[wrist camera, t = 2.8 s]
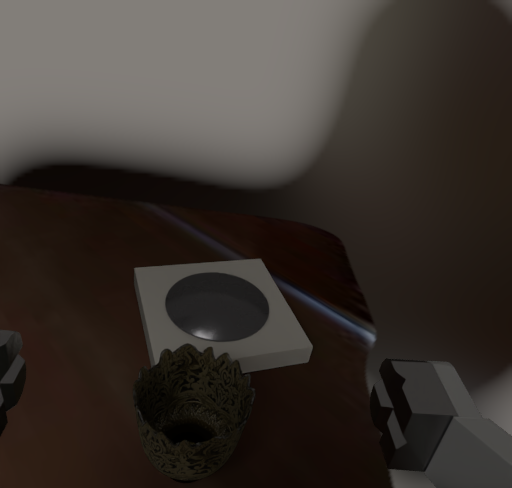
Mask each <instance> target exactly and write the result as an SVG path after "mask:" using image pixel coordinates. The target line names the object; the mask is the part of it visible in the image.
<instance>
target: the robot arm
mask: <svg viewBox="0 0 512 488" xmlns="http://www.w3.org/2000/svg"><path fill="white" fill-rule="evenodd" d="M22 346H23V345H22V340H21V335H20V333H18V332H16V331H6V330H0V436H1V434H2V432H3V430H4V429H5V427H6V425H7V423H8V421H7V416H6V412H7V411H8V410H9V409H11V408H12V407H14V406H15V405H17V403H18V401H19V399H20V397H21V394H22V392H23V388H24V384H25V380H26V365H25V360H24V359H23V358H22V357H20V356H19V355H18V353H19V351H20V349H21V347H22ZM379 372H380V374H381V377H382V379H381V380H379V381H378V382H376V383H375V384H374V386H373V389H372V392H371V397H370V410H371V417H372V420H373V423H374V426H375V427H376V428H377V429H378V430H380V431H381V432H382V433H383V434H382V437H381V439H380V442H379V443H380V446H381V449H382V452H383V455H384V459H385V462H386V465H387V468H388V469H397V470H409V471H423V472H425V473H424V474H425V475H426V476H427V477H428V478H429V480H430V481H431V482H432V483H433V484H434V485H435V486H436V488H512V436H511V435H510V434H508V433H507V432H506V431H504V430H503V429H502V428H500V427H499V426H498V425H496V424H495V423H494V422H493V421H491V420H490V419H483V418H482V416H481V414H480V412H479V411H478V409H477V407H476V405H475V404H474V402H473V400H472V398H471V397H470V395H469V393H468V392H467V390H466V388H465V386H464V384H463V383H462V381H461V379H460V377H459V376H458V374H457V372H456V370H455V369H454V367H453V365H451V364H450V363H449V362H439V361H418V360H403V359H402V360H401V359H387V358H386V359H385V360H384V361H383V362H382V364H381V367H380V370H379Z"/></svg>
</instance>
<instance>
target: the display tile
mask: <svg viewBox="0 0 512 488" xmlns="http://www.w3.org/2000/svg"><path fill="white" fill-rule="evenodd" d="M134 286H135V290H136V295H137V300H138V305H139V310H140V314H141V319H142V324H143V329H144V334H145V338H146V343H147V348H148V353H149V358H150V362H151V366H152V365H156V364H158V362H159V360H160V359H159V358H160V353H161V352H162V351H163V350H164V349H170V350H171V351H172V352H173V351H175V350H176V349H177V348H179V347H180V346H182V345H184V344H186V343H189V344H191V345H193V346H195V347H196V348H197V350H198V351H200V352H203V351H204V350H205V349H206V348H207V347H213V351H214V356H215V359H217V357H218V356H220V355H221V354H223V353H228V354H229V356H230V358H231V359H232V362H234V361H235V360H238V361H239V363H240V367H241V370H242V373H247V372H253V371H259V370H265V369H271V368H277V367H283V366H288V365H294V364H300V363H306V362H308V361H309V358H310V355H311V351H312V348H313V346H312V344H311V343H310V341H309V339H308V337H307V336H306V334H305V332H304V331H303V329H302V327H301V326H300V324H299V322H298V321H297V319H296V317H295V316H294V314H293V312H292V311H291V309H290V307H289V306H288V304H287V302H286V301H285V299H284V297H283V296H282V294H281V292H280V290H279V289H278V287H277V285H276V284H275V282H274V280H273V279H272V277H271V275H270V274H269V272H268V270H267V269H266V267H265V265H264V264H263V262H262V260H261V259H249V260H236V261H222V262H208V263H195V264H181V265H167V266H154V267H140V268H134Z"/></svg>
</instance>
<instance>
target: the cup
mask: <svg viewBox="0 0 512 488" xmlns="http://www.w3.org/2000/svg"><path fill="white" fill-rule="evenodd" d="M159 359H160V360H159V362H158V364H156V365H152V366H151V368H150V370H147V368H146V366H144V367H142V368H141V370H140V372H139V378H138V380H136V381H135V383H134V385H133V397H134V404H135V410H136V417H137V423H138V429H139V435H140V439H141V443H142V446H143V449H144V451H145V453H146V455H147V457H148V459H149V461H150V462H151V463H152V464H153V465H154V467H155V468H157V469H158V470H159V471H160V472H161V473H163V474H165V475H166V476H168V477H170V478H171V479H173V480H175V481H177V482H180V483H191V482H194V481H197V480H199V479H202V478H204V477H207V476H209V475H211V474H213V473H214V472H216V471H217V470H218V469H220V468H221V467H222V466H223V465H224V464H225V463H226V461H227V460H228V459H229V457H230V456H231V454H232V453H233V451H234V449H235V448H236V446H237V443H238V441H239V439H240V436H241V434H242V432H243V429H244V427H245V424H246V422H247V419H248V418H249V416H250V413H251V410H252V405H253V401H254V398H255V389H253V388H252V389H251V387H249V386H250V374H247V375H244V376H243V377H242V370H241V367H240V363H239V361H238V360H235V361H234V362H232V359H231V358H230V356H229V354H228V353H223V354H221V355H220V356H218V357H217V359H215V356H214V351H213V347H207V348H206V349H205V350H204V351H203V352H200V351H198V350H197V348H196V347H195V346H193V345H191V344H189V343H186V344H184V345H182V346H180V347H179V348H177V349H176V350H175V351H173V352H172V351H171V350H170V349H164V350H163V351H162V352H161V353H160V358H159Z"/></svg>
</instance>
